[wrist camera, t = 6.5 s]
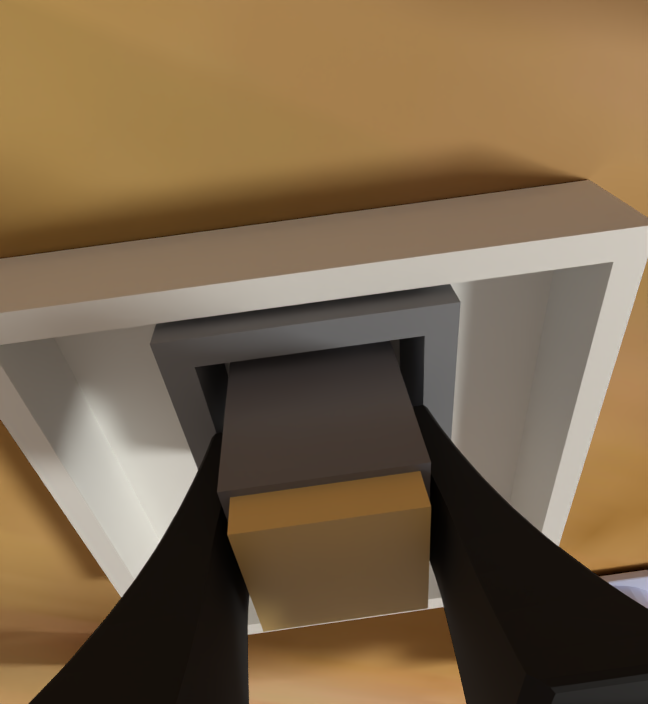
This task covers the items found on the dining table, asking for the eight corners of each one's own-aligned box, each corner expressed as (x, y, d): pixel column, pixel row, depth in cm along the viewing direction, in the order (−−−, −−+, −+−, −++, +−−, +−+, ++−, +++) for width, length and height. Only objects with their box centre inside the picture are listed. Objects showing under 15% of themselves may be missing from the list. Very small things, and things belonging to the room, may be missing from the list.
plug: (386, 420, 16) (436, 611, 11) (259, 438, 16) (255, 637, 11) (381, 313, 14) (442, 497, 9) (232, 334, 14) (213, 529, 9)
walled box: (515, 528, 23) (549, 604, 20) (167, 577, 23) (153, 661, 20) (589, 180, 14) (672, 233, 11) (-7, 259, 14) (-79, 335, 11)
